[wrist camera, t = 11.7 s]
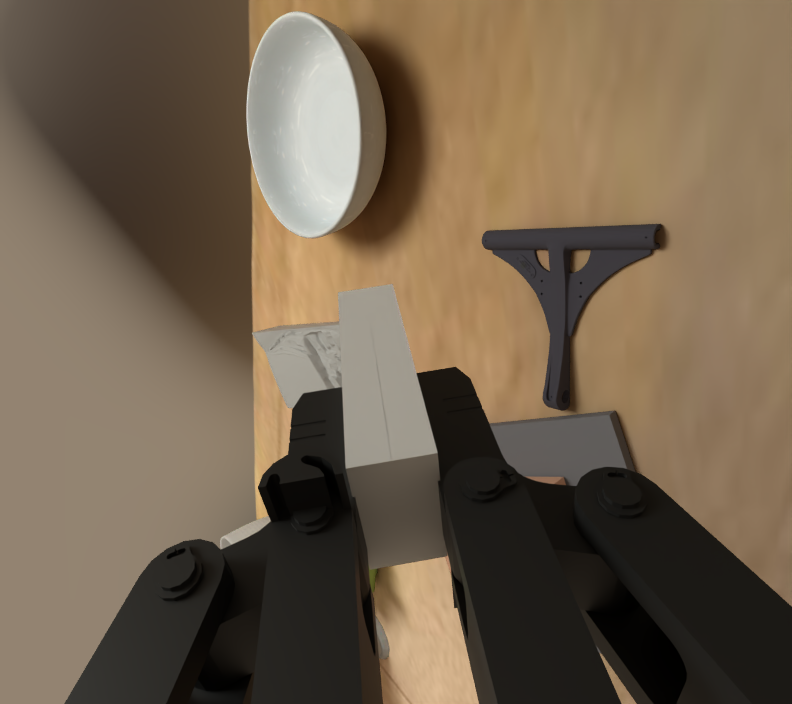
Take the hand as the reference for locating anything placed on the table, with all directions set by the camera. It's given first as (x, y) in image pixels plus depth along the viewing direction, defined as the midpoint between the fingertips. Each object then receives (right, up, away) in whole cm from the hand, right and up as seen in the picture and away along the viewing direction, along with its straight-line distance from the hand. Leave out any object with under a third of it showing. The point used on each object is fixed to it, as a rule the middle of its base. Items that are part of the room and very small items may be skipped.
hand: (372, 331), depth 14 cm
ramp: (-8, -1, +56) cm, 56 cm away
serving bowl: (-4, +23, +41) cm, 47 cm away
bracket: (+15, +2, +27) cm, 31 cm away
